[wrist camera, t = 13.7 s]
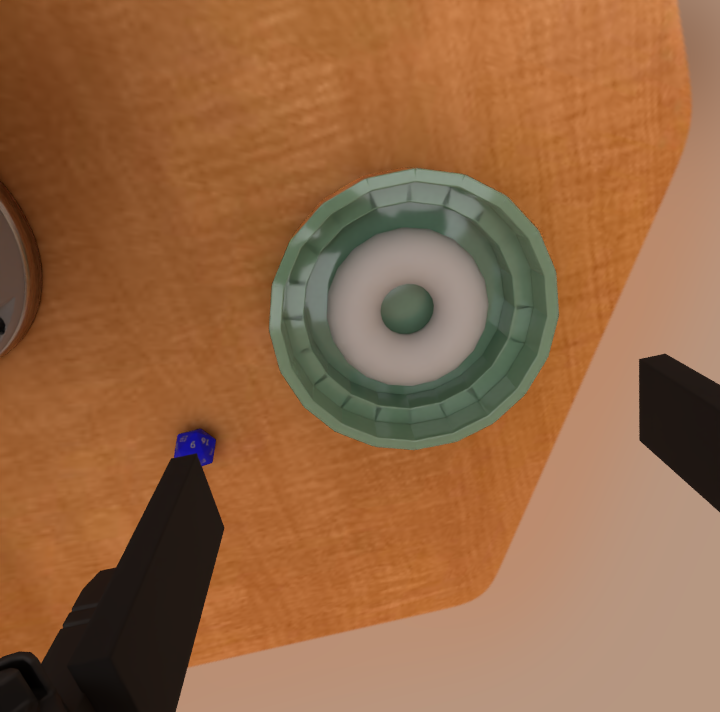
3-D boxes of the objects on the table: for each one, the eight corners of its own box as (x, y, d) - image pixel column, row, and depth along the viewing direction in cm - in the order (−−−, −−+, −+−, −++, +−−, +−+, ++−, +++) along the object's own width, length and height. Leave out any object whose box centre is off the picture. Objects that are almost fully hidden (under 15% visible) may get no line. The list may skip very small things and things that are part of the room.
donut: (509, 308, 34) (415, 188, 31) (528, 324, 31) (426, 192, 28) (393, 400, 36) (293, 296, 33) (399, 424, 33) (290, 311, 30)
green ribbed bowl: (310, 433, 37) (307, 471, 33) (249, 199, 32) (234, 205, 27) (536, 388, 37) (565, 421, 32) (516, 143, 31) (548, 139, 26)
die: (227, 434, 37) (217, 474, 35) (198, 438, 38) (188, 478, 37) (202, 417, 35) (190, 460, 33) (172, 423, 36) (160, 464, 35)
